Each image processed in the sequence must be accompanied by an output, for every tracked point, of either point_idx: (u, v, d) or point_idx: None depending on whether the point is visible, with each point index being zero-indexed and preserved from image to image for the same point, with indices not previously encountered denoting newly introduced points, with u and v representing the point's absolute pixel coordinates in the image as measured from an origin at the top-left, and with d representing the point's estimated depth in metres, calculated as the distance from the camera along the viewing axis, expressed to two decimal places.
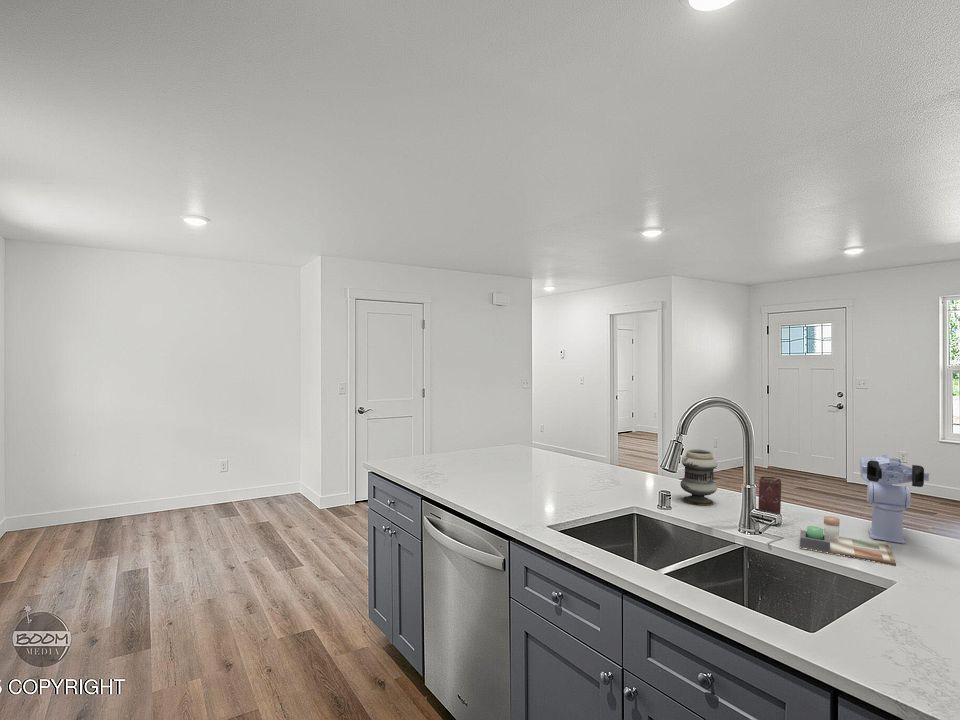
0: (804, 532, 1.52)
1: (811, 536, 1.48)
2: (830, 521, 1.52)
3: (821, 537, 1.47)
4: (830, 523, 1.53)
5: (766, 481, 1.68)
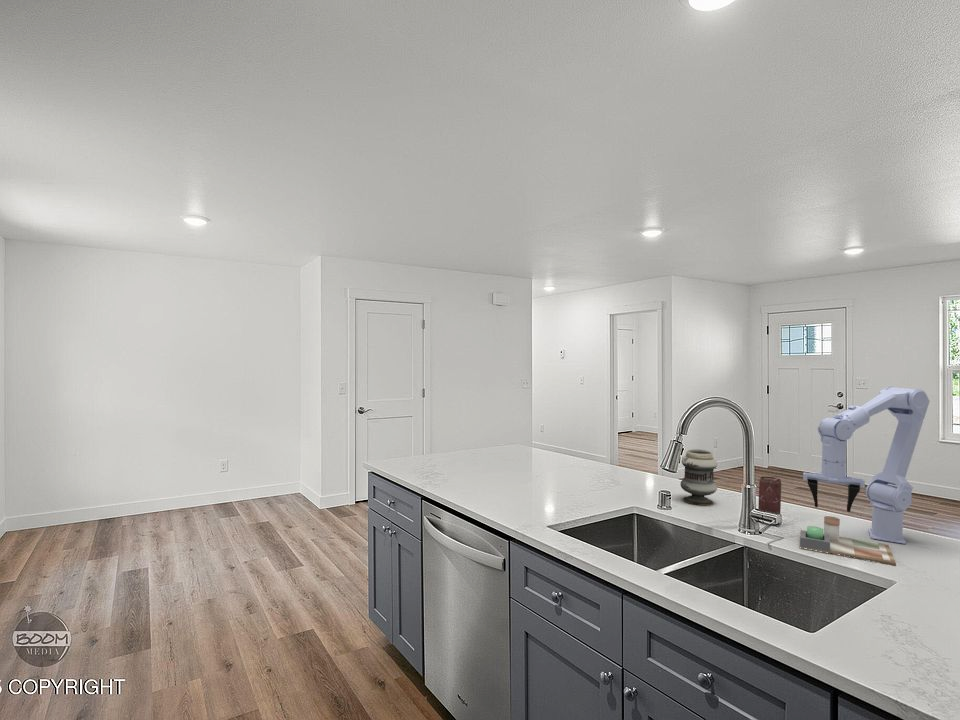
0: (804, 532, 1.52)
1: (811, 536, 1.48)
2: (830, 521, 1.52)
3: (821, 537, 1.47)
4: (830, 523, 1.53)
5: (766, 481, 1.68)
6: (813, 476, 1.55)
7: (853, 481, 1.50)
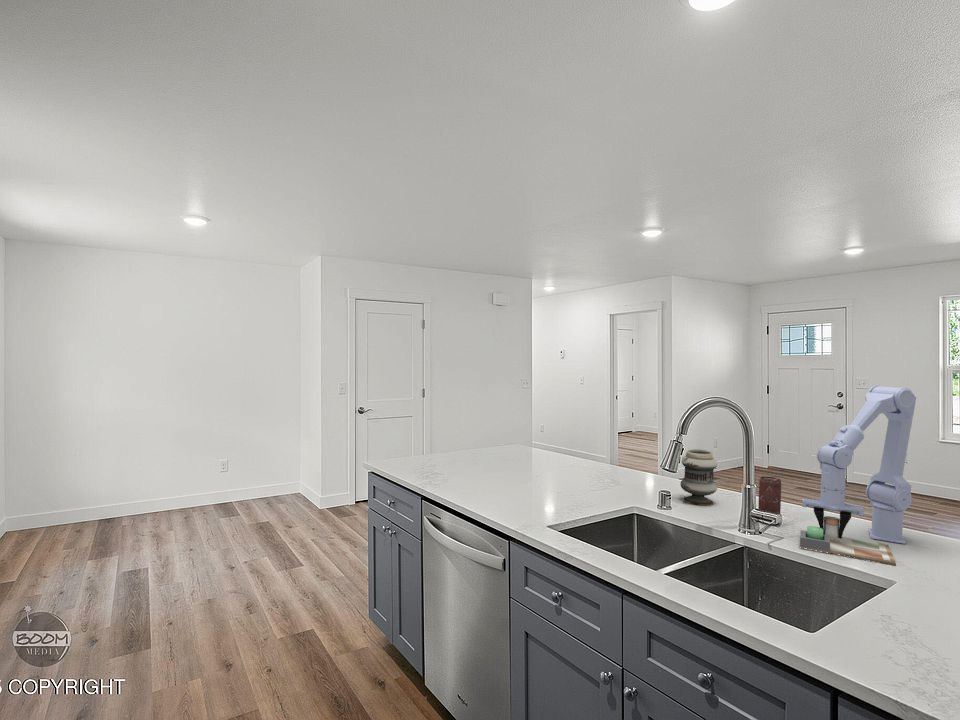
0: (804, 532, 1.52)
1: (811, 536, 1.48)
2: (830, 521, 1.52)
3: (821, 537, 1.47)
4: (830, 523, 1.53)
5: (766, 481, 1.68)
6: (812, 503, 1.55)
7: (852, 509, 1.50)
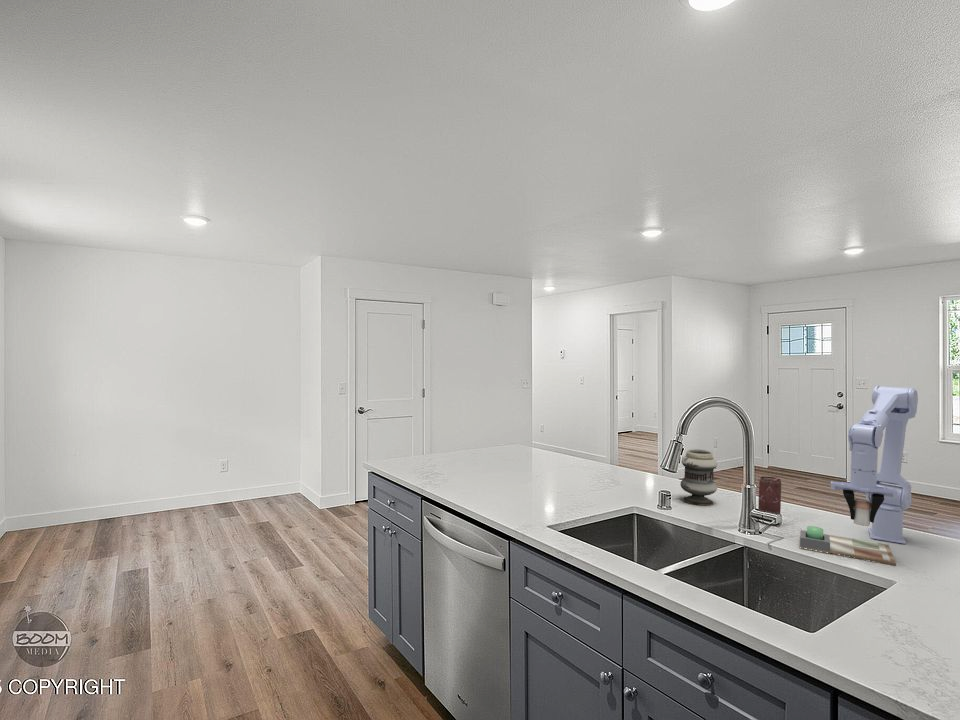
0: (804, 532, 1.52)
1: (811, 536, 1.48)
2: (862, 504, 1.44)
3: (821, 537, 1.47)
4: (862, 507, 1.44)
5: (766, 481, 1.68)
6: (841, 485, 1.46)
7: (885, 491, 1.41)
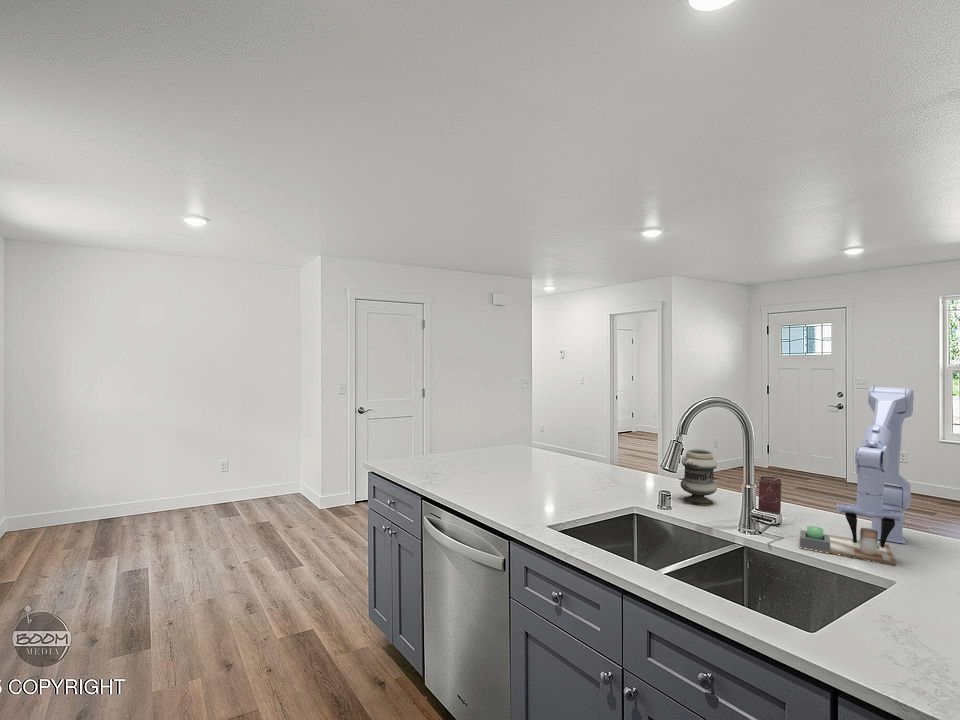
0: (804, 532, 1.52)
1: (811, 536, 1.48)
2: (868, 533, 1.42)
3: (821, 537, 1.47)
4: (868, 535, 1.42)
5: (766, 481, 1.68)
6: (848, 509, 1.44)
7: (892, 515, 1.39)
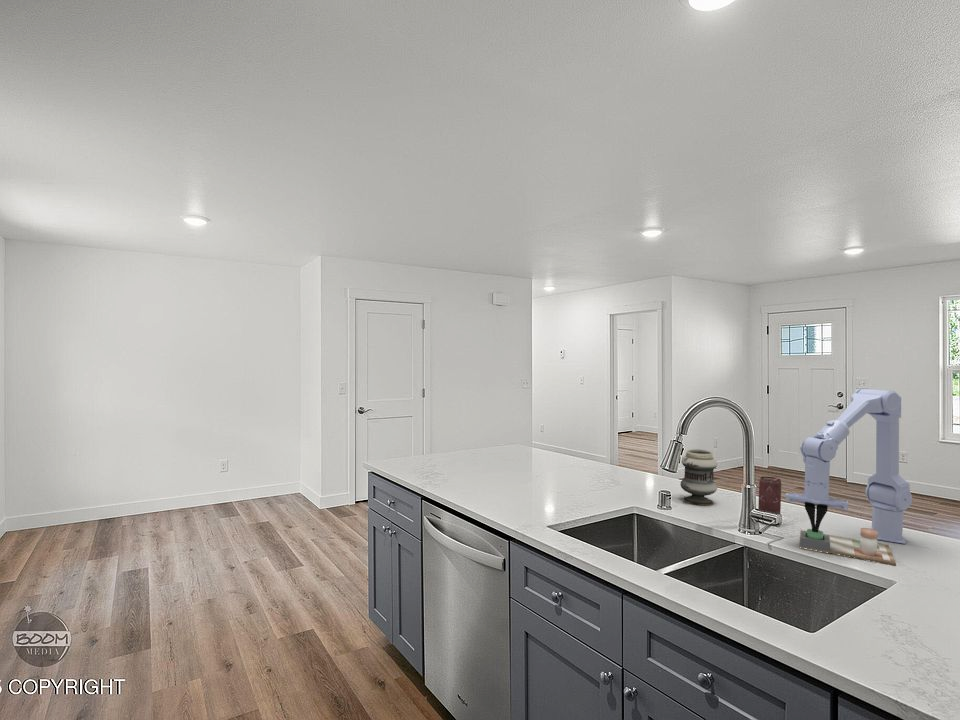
0: (804, 532, 1.52)
1: None
2: (868, 533, 1.42)
3: None
4: (868, 536, 1.42)
5: (766, 481, 1.68)
6: (795, 497, 1.50)
7: (836, 503, 1.45)
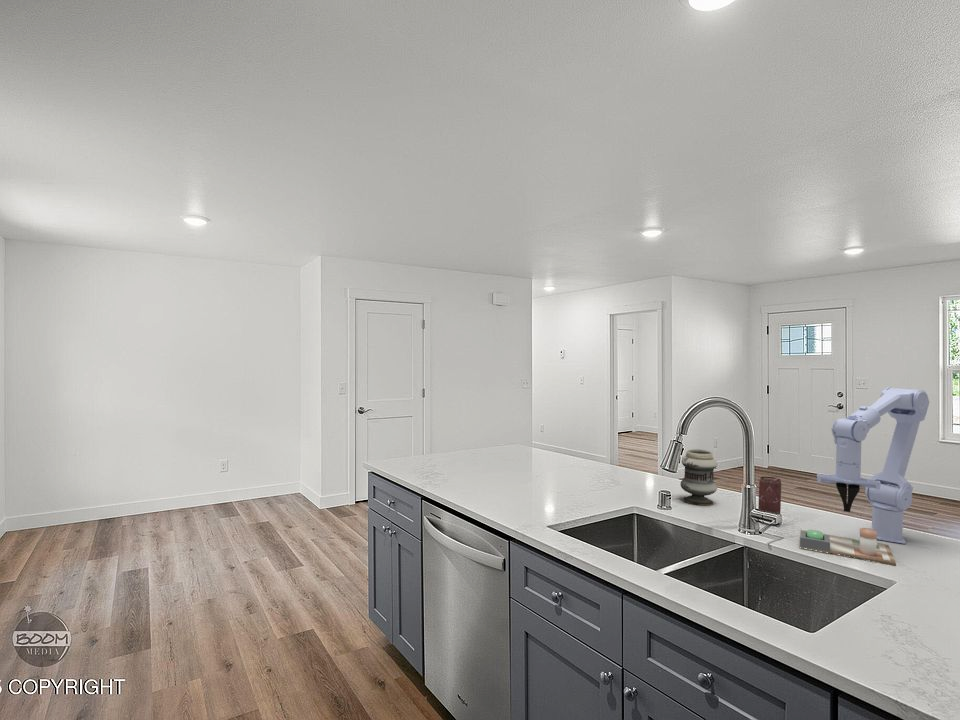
0: (804, 532, 1.52)
1: None
2: (867, 533, 1.42)
3: None
4: (867, 536, 1.42)
5: (766, 481, 1.68)
6: (827, 478, 1.52)
7: (868, 483, 1.47)
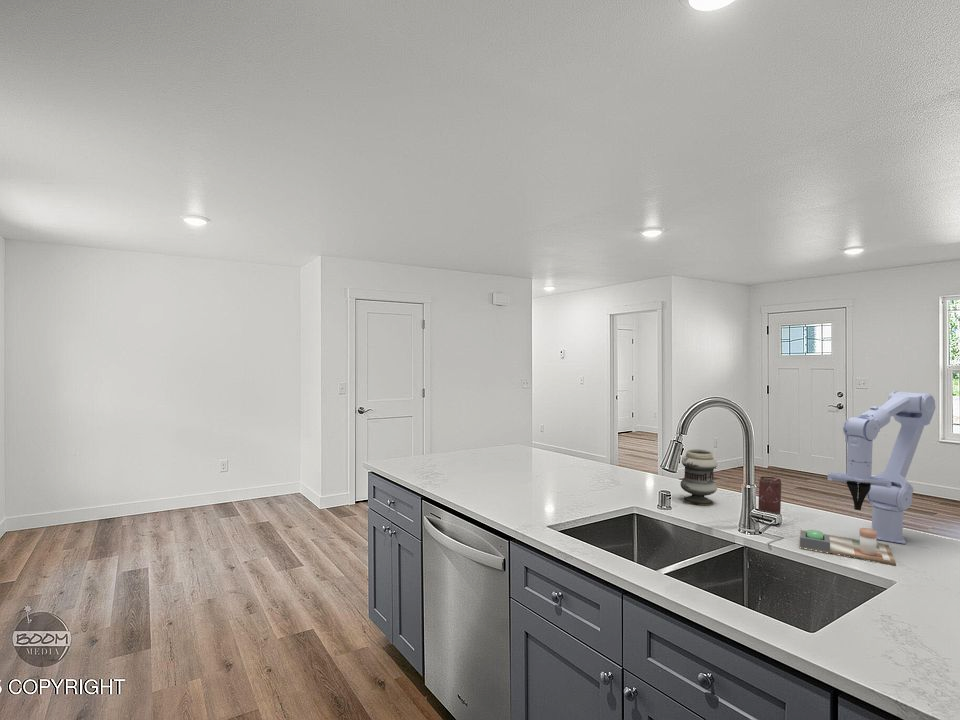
0: (804, 532, 1.52)
1: None
2: (866, 533, 1.42)
3: None
4: (866, 535, 1.42)
5: (766, 481, 1.68)
6: (838, 476, 1.53)
7: (879, 481, 1.48)
